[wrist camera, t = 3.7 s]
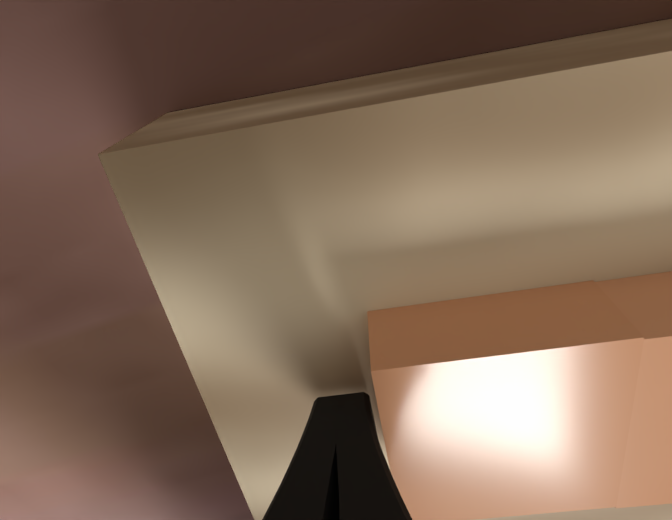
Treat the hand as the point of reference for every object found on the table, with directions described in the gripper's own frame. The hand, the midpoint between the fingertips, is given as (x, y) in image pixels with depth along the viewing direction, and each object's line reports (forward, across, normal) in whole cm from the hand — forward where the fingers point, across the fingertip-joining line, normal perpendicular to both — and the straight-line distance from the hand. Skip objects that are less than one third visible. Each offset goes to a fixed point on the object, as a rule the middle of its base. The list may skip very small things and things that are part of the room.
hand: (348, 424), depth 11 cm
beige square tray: (+5, -3, 0) cm, 6 cm away
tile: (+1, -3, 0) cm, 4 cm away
